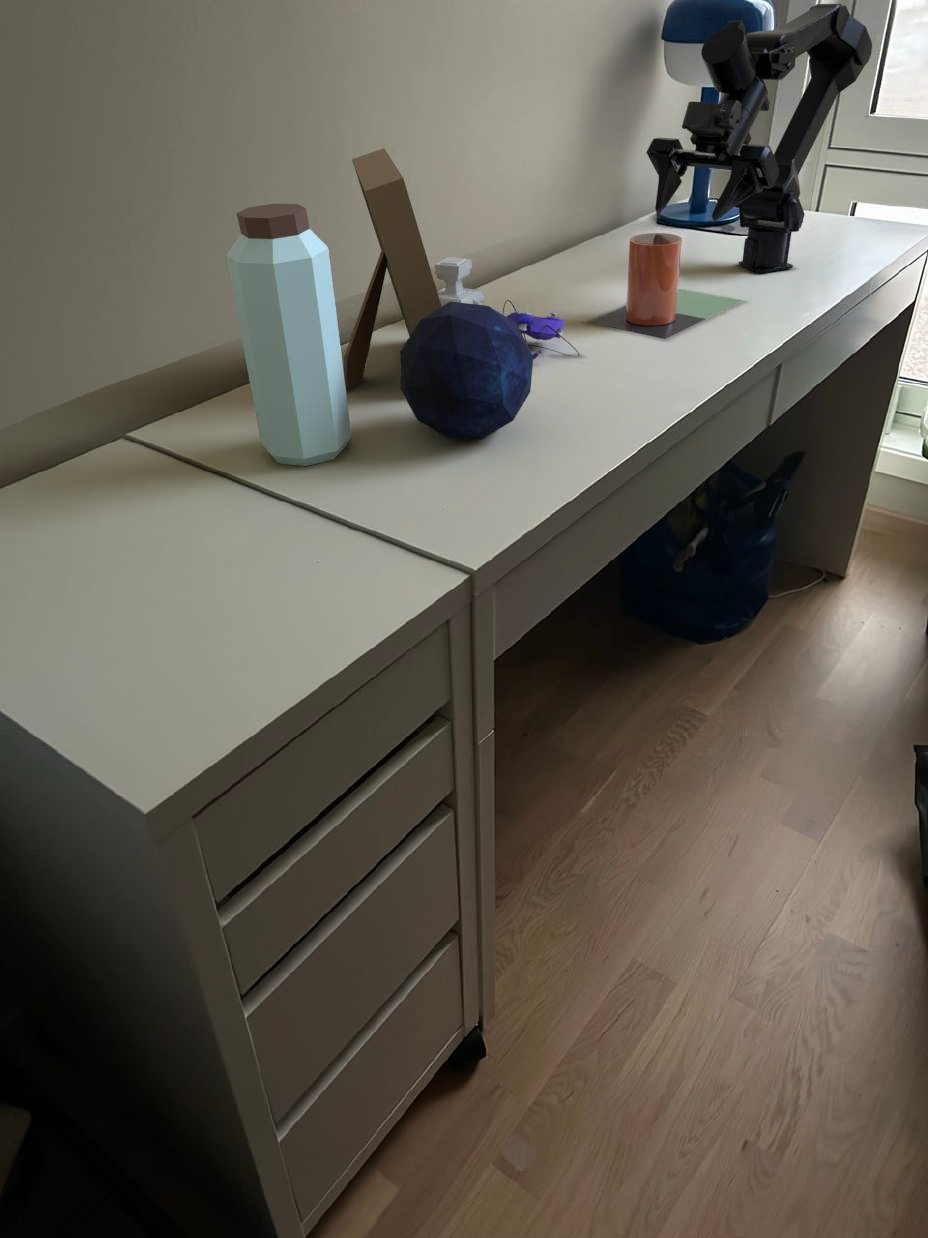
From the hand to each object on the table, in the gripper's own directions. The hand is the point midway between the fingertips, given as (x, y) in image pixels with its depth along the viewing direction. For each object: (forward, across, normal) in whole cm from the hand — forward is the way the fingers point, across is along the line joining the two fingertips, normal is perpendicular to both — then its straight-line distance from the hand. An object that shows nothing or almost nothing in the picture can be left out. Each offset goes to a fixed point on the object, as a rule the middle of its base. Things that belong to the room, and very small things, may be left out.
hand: (684, 214), depth 133 cm
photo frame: (+40, -16, -21) cm, 48 cm away
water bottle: (+57, -5, -38) cm, 68 cm away
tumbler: (+14, 0, +4) cm, 15 cm away
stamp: (+26, -24, -7) cm, 36 cm away
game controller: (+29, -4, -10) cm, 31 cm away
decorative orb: (+46, +6, -28) cm, 54 cm away
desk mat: (+11, 0, +7) cm, 13 cm away
